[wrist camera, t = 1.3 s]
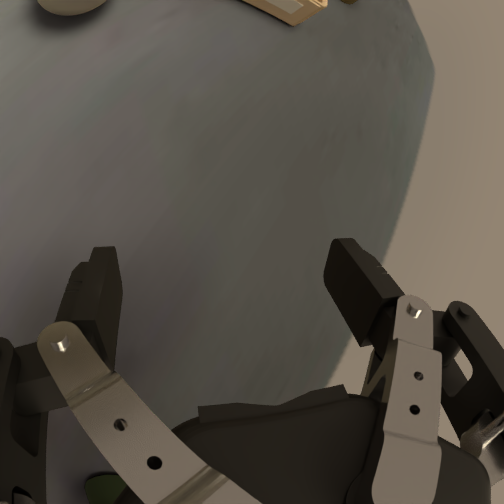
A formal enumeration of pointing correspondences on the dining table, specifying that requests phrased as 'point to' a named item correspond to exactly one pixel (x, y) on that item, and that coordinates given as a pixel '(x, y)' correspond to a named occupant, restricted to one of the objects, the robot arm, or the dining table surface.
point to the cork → (349, 1)
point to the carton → (290, 9)
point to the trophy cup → (104, 489)
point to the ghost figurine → (69, 6)
